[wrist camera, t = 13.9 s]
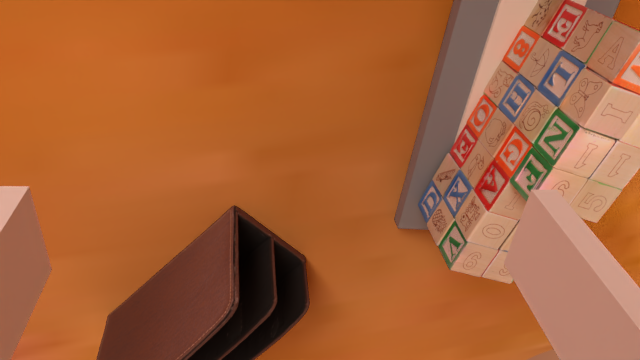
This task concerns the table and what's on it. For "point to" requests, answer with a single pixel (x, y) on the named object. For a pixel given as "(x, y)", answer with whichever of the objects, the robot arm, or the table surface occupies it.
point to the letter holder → (213, 298)
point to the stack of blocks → (540, 135)
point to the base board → (463, 85)
